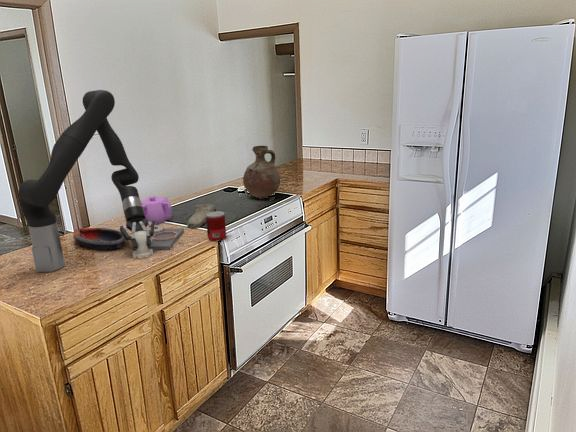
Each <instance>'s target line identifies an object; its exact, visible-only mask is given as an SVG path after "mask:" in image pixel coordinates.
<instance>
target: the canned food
mask: <svg viewBox="0 0 576 432" xmlns="http://www.w3.org/2000/svg"><path fill="white" fill-rule="evenodd" d="M205 223H206V230H207V239H208V240H210V241H222V240H225V239H226V237H227V227H226V215H225V212H224V211H220V210H217V211H215V210H214V212H209V213H207V214H206V222H205Z"/></svg>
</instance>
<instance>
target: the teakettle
mask: <svg viewBox="0 0 576 432" xmlns="http://www.w3.org/2000/svg"><path fill="white" fill-rule="evenodd" d="M140 201H141V203H142V206H143V210H144V214H145V217H146V220H147V221H148V222H152V221H155V224H157V225H160V224H162V223H164V221H165V222H167V221H168V220H170V219H171V217H172V214H173V211H172V204H171V202H170V201H169V200H168V197H165V196H164V197H157V196H154V195H152V196H149V197H148V198H146V199H142V200H140ZM166 220H167V221H166ZM161 222H162V223H161ZM159 223H160V224H159Z"/></svg>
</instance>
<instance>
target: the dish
mask: <svg viewBox="0 0 576 432" xmlns="http://www.w3.org/2000/svg"><path fill="white" fill-rule="evenodd" d="M73 238H74V239H75V241H76V242H77V243H78V244H79V245H81V246H83V247H86V248H90V249H95V250H114V249H119V248H122V247H124V245H125V243H126V241H127V240H126V239H125V237H124V236H123V234H122V233H121V231H120V230H117V229H112V228H107V227H85V228H77V229H75V230H74V233H73Z"/></svg>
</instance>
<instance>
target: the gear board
mask: <svg viewBox="0 0 576 432" xmlns="http://www.w3.org/2000/svg"><path fill="white" fill-rule="evenodd" d="M147 231H148V232H149V233H150V232H151V227H149V229H147ZM183 233H185V228H165V226H159V225H156V226H154V235H153V236H152V237H150V239H151V245H150V247H148V249H153V251H162V250H163V251H168V250H169V251H170V250H171V249H172V248H173V246H174V245H175V244H176V242H177V241H178V240H179V239H180V238H181V236H182V235H183ZM132 249H133V250H132V251H137V249H135V248H133V247H132Z"/></svg>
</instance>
